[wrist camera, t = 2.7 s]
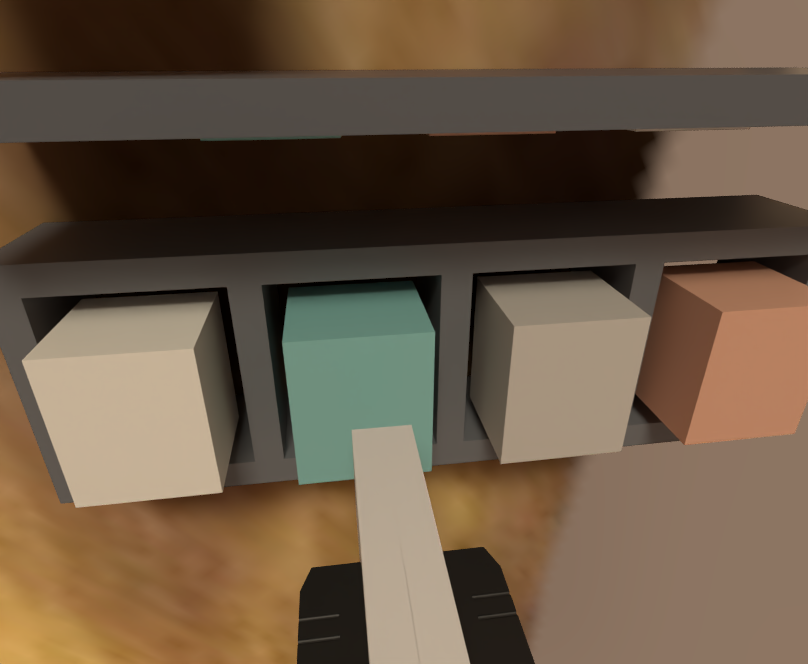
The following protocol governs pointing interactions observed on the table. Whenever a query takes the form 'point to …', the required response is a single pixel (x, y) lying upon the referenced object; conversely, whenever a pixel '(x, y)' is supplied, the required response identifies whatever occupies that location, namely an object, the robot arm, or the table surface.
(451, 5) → the table surface
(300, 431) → the key
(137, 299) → the key
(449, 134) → the screen
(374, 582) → the robot arm
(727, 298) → the key
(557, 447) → the grey block
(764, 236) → the key frame
